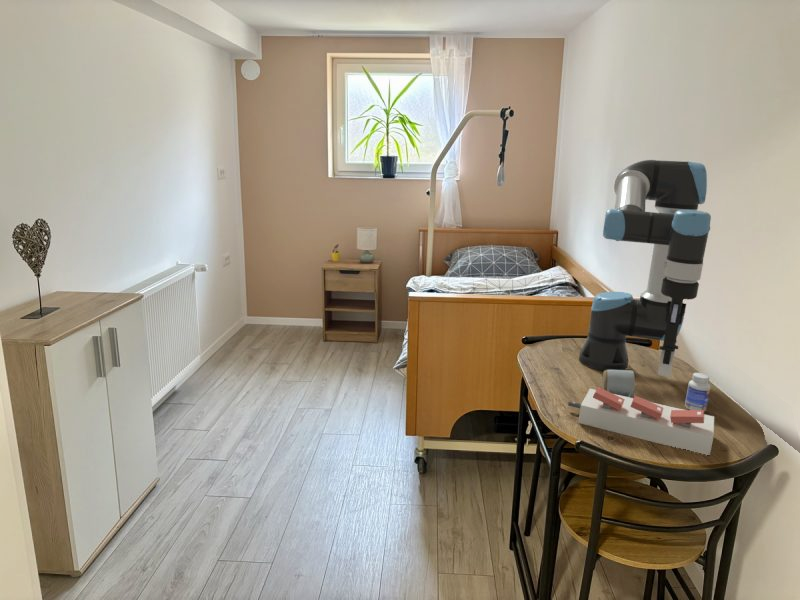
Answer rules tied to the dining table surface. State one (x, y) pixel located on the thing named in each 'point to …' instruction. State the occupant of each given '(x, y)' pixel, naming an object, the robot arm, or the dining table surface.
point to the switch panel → (646, 424)
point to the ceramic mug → (619, 382)
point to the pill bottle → (698, 392)
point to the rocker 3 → (687, 416)
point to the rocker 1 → (608, 398)
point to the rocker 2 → (647, 407)
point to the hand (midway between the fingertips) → (663, 374)
